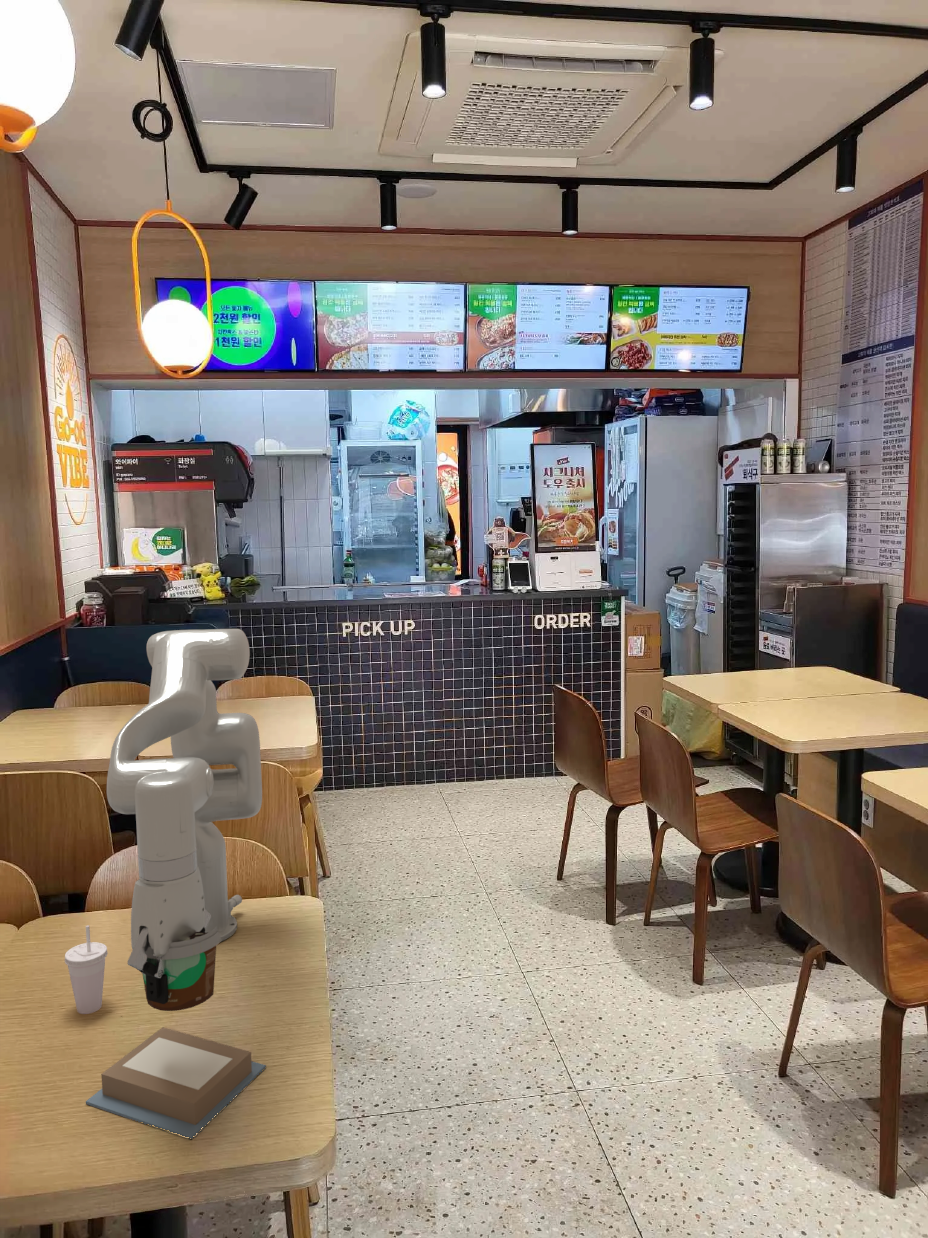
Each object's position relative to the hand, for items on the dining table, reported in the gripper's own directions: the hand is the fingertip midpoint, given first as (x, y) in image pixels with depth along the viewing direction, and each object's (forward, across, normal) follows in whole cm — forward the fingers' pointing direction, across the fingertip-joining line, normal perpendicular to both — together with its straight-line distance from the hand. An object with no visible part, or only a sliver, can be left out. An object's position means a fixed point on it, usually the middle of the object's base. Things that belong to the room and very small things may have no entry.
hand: (173, 988), depth 122 cm
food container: (+2, +1, 0) cm, 2 cm away
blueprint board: (+15, 0, 0) cm, 15 cm away
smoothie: (+15, -10, -27) cm, 32 cm away
